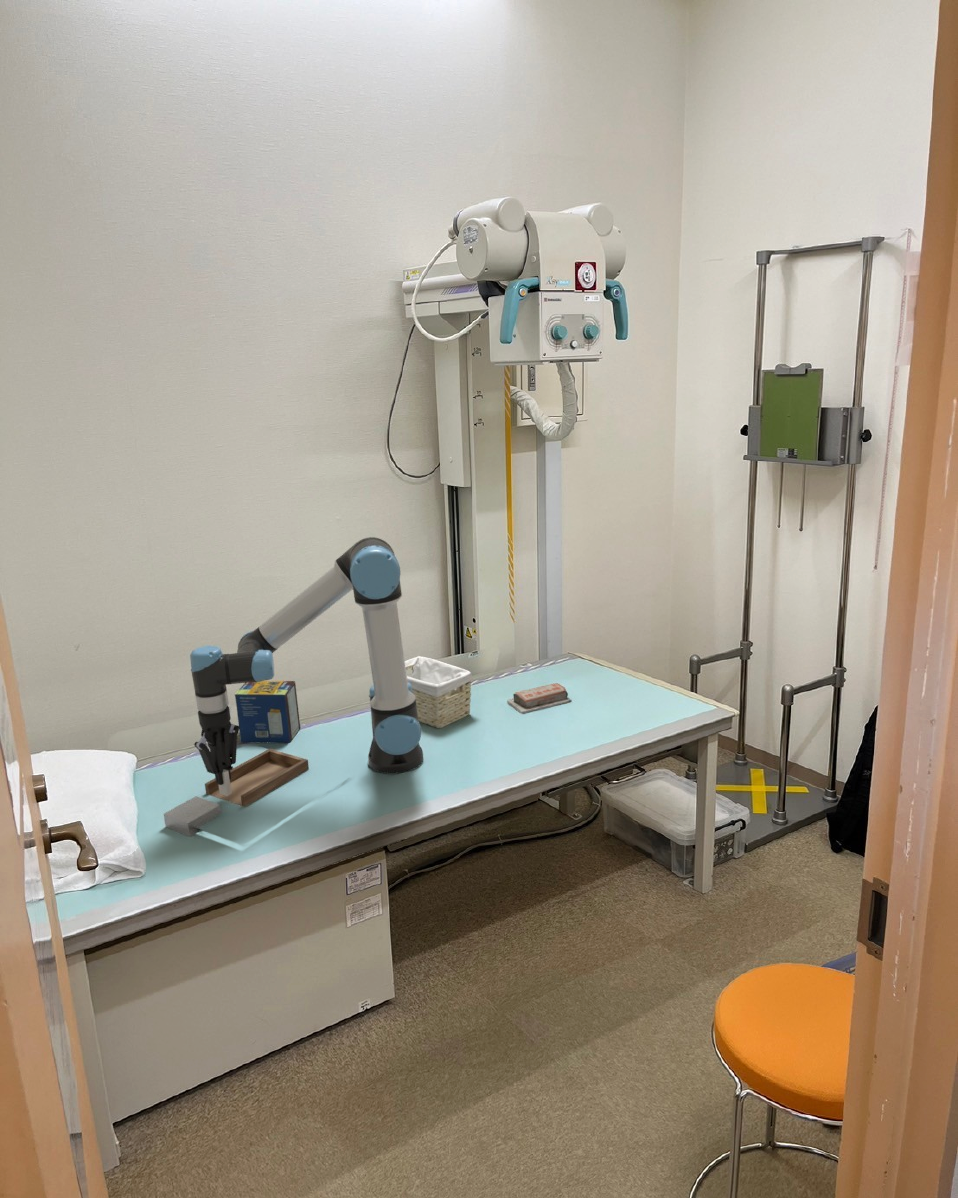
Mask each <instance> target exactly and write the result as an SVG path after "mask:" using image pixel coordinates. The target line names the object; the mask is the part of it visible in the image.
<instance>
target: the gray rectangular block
mask: <svg viewBox="0 0 958 1198" xmlns="http://www.w3.org/2000/svg"><path fill="white" fill-rule="evenodd" d="M222 814H223V813H222V808H221V804H219V803H216V802H214V801H211V800H208V799H204V798H202V797H199V796H194V797H192V798H189V800H187V801H185V802H183V803H181V804H179V805H177V806H175V807H174V808H171V809H169V810H168V811H166V812H164V813H163V818H164V819H163V820H164V826H165V828H167V829H169V830H171V831H174V832H177V833H180V834H181V835H184V836H188V837H189V838H190V837H192V836H194V835H196V834H197V833H199V832H201V831H202V829H200V827H201V826H203V825H205V824H206V823H208V822H210V821H212V820H213V819H215V818H217V817H218V816H220V815H222Z"/></svg>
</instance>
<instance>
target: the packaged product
mask: <svg viewBox="0 0 958 1198" xmlns="http://www.w3.org/2000/svg"><path fill="white" fill-rule="evenodd" d="M568 693H569V692H567V689H566V687H565V686H563V685H561V684H560V683H557V682H556V683H551V684H545V685H542V686H538V687H534V688H529V689H525V690H520V691H516V692H514V693H513V694H512V695H513V698H511V699H507V700H506V701H507V705H509V706H511V708H513V709H515V711H517V712H519V713H520V714H522V715H523V714H527V713H531V712H535V711H540V710H544V709H547V708H553V707H556V706H560V705H564V704H568V703H571V702H572V699H571V698H570V697H569V694H568Z"/></svg>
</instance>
